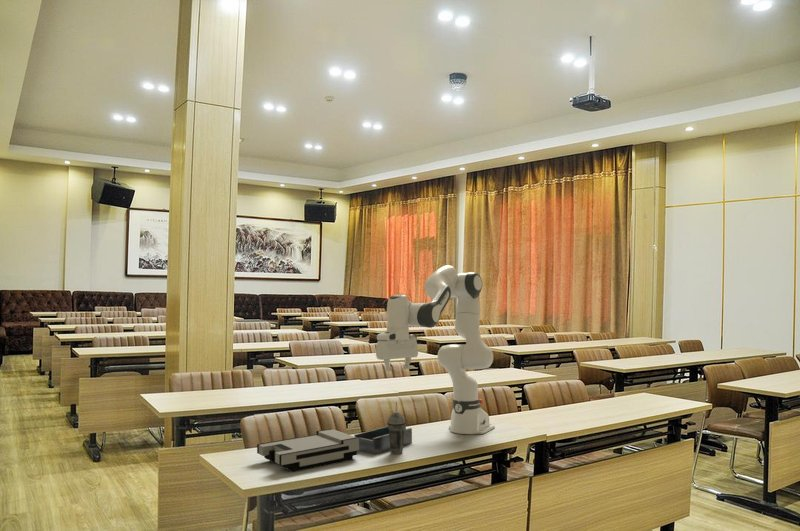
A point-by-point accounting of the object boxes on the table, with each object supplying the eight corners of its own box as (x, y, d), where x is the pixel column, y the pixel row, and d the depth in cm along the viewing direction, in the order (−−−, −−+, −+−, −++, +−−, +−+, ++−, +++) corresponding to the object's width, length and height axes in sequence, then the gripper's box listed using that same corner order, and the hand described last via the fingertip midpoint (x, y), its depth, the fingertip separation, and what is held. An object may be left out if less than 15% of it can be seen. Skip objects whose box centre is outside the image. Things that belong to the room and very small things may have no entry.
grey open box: (392, 438, 258) (392, 424, 259) (411, 442, 251) (411, 428, 251) (354, 449, 241) (354, 434, 241) (374, 454, 234) (374, 438, 234)
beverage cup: (405, 450, 239) (405, 399, 240) (406, 455, 232) (405, 403, 233) (387, 450, 239) (386, 400, 240) (387, 455, 232) (387, 403, 233)
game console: (257, 463, 225) (257, 440, 225) (331, 449, 244) (331, 428, 244) (281, 475, 208) (281, 452, 208) (359, 460, 227) (358, 438, 227)
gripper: (410, 334, 249) (410, 367, 248) (373, 335, 235) (373, 371, 234) (421, 334, 244) (421, 368, 243) (384, 336, 230) (384, 372, 229)
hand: (397, 370), depth 238 cm, fingers open, 8 cm apart
